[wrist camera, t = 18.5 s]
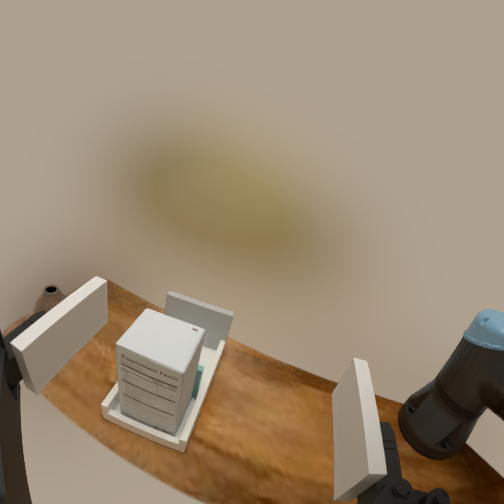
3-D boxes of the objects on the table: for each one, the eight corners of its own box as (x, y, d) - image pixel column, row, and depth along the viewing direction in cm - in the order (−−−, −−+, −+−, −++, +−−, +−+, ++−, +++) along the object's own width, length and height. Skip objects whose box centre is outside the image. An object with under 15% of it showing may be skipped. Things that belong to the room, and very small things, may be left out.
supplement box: (142, 378, 36) (147, 305, 31) (192, 398, 35) (208, 328, 31) (118, 415, 29) (113, 342, 24) (174, 439, 28) (185, 372, 24)
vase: (60, 316, 41) (56, 271, 38) (85, 337, 39) (82, 291, 36) (30, 332, 35) (21, 285, 32) (53, 357, 33) (44, 309, 30)
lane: (183, 452, 27) (191, 418, 25) (103, 417, 28) (96, 377, 25) (223, 350, 47) (234, 312, 44) (164, 329, 48) (170, 290, 45)
